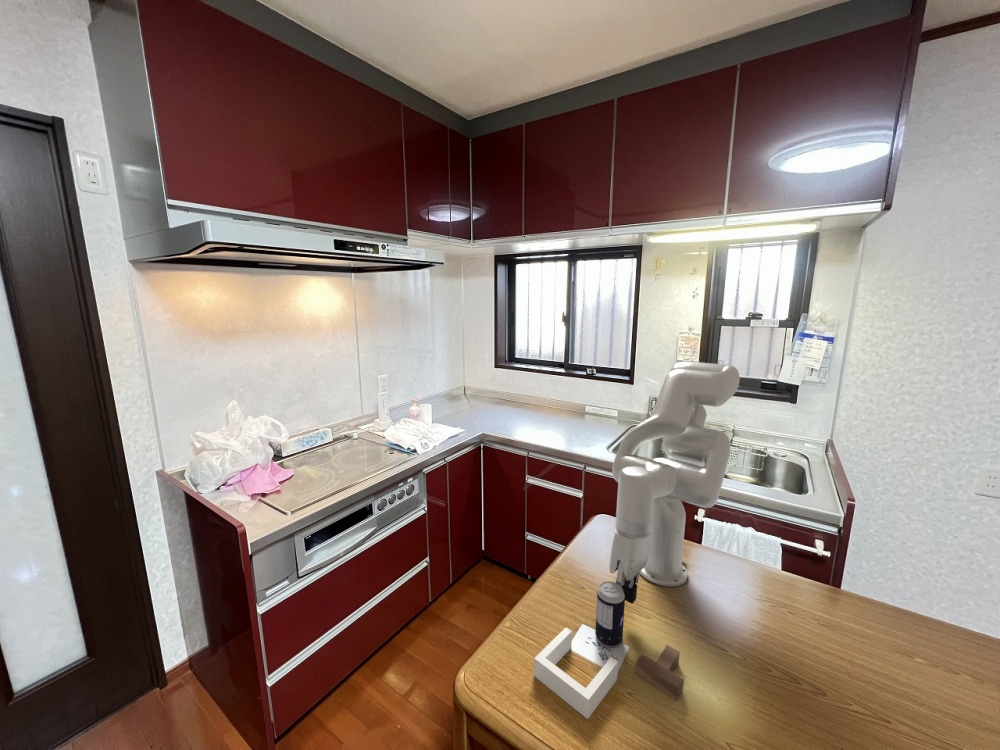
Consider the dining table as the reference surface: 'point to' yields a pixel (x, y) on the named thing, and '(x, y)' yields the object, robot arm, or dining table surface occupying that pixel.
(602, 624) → the beverage can
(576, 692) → the corral
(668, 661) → the walnut T block
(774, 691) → the dining table surface
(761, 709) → the dining table surface
